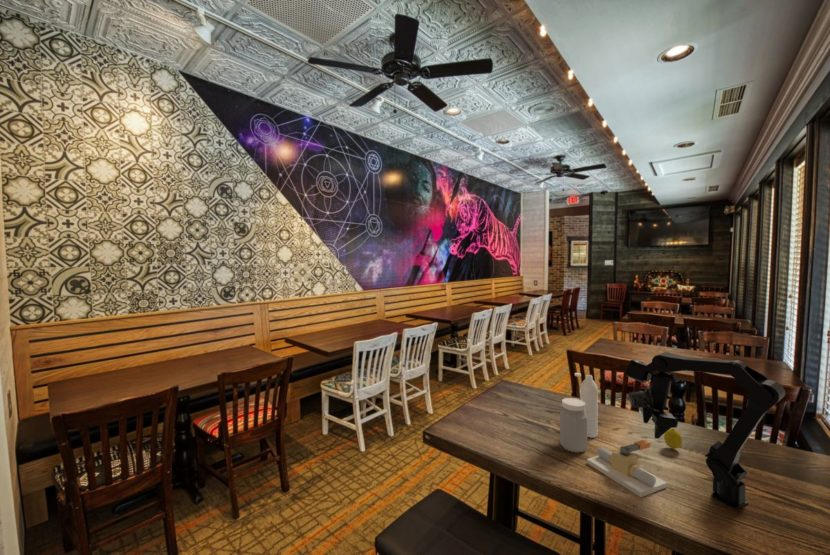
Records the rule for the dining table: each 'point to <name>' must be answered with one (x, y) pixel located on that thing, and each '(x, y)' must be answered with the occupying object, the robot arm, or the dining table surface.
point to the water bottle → (590, 404)
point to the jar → (573, 425)
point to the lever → (634, 447)
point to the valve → (626, 472)
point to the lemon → (673, 438)
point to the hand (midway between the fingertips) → (650, 430)
